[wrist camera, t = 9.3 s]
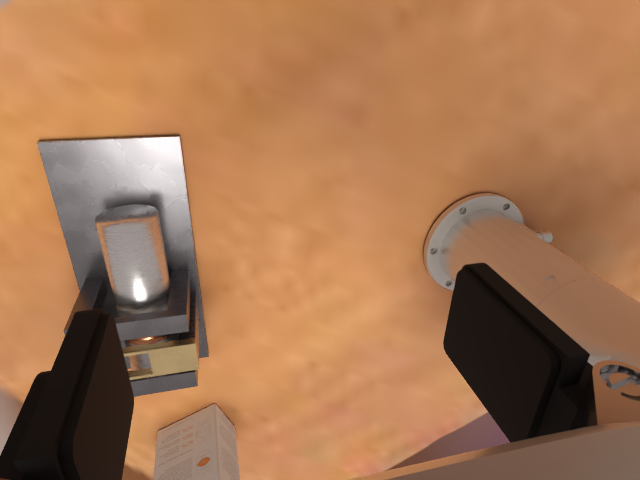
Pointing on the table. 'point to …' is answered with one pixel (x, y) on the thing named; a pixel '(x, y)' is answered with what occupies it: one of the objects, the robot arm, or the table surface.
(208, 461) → the small box
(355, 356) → the table surface
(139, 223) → the tube
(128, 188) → the rail
